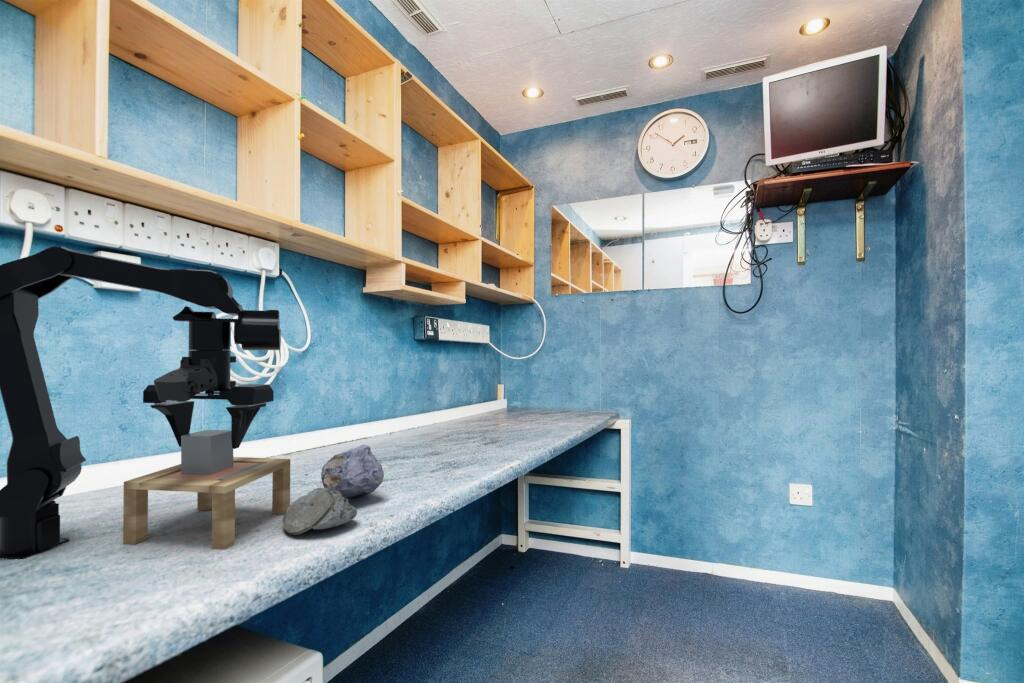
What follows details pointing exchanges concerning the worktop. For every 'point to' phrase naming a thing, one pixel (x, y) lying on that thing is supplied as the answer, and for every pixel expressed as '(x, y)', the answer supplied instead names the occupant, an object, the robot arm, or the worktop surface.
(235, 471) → the trapdoor
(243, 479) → the trapdoor frame
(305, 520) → the fossilized seashell
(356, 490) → the rock
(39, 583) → the worktop surface
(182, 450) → the grey block
